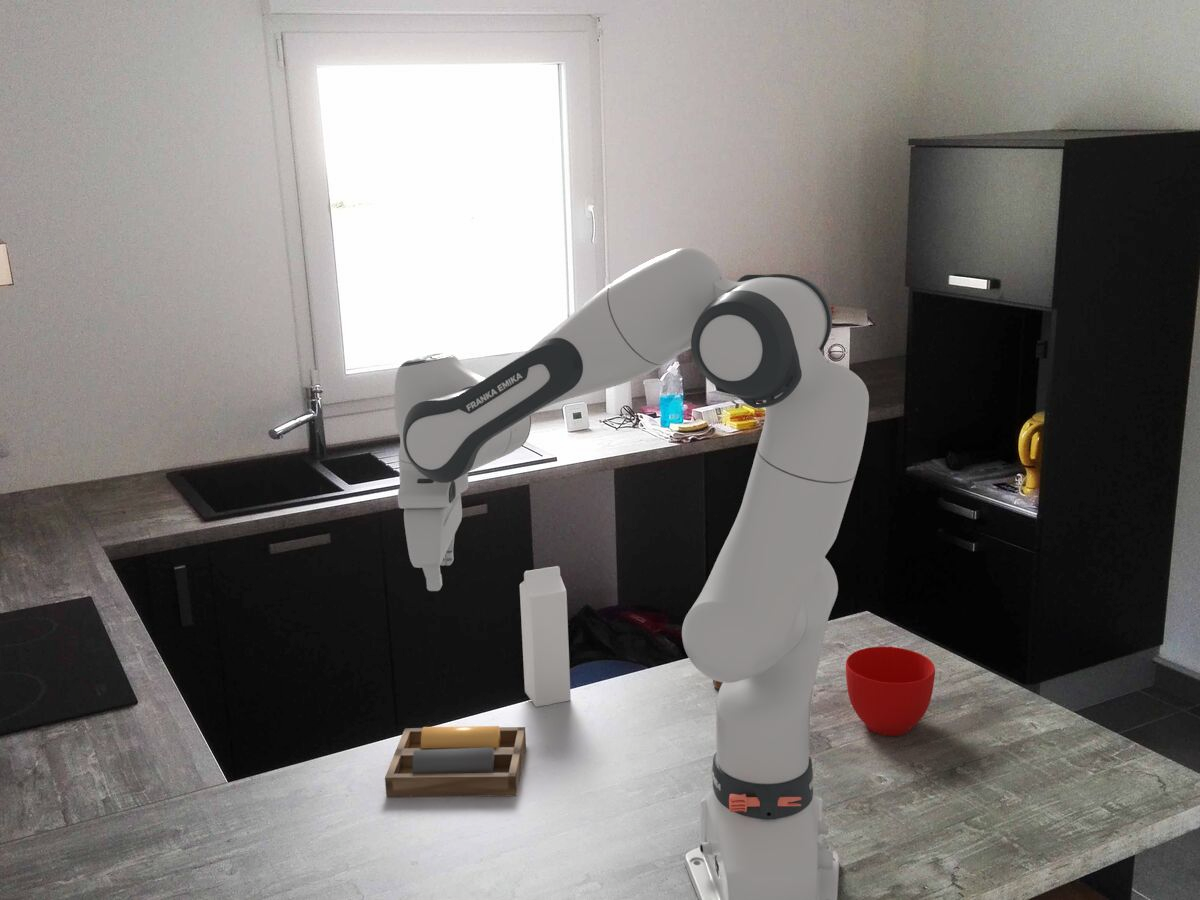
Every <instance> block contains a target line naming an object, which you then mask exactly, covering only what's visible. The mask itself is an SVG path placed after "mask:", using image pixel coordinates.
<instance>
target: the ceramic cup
mask: <svg viewBox="0 0 1200 900" xmlns="http://www.w3.org/2000/svg"><path fill="white" fill-rule="evenodd" d="M935 676H936V668H935V665H934V663H933V662H932V660H931V659H929V658H928V657H927V656H925V655H923V654H921V653H920V652H916V651H913V650H910V649H907V648H903V647H894V646H891V645H889V646H872V647H866V648H862V649H859V650H855V651H854V652H852V653H851V654H850V655H849V656H848V657H847V659H846V661H845V678H846V679H845V681H846V688H847V694H848V699H849V702H850V705H851V707H852V708H853V710H854V713H855V714H856V715H857V717H858V718H859V719H860V721H861V722H862V723H863V724H865V726H866V728H868V730H870V731H871V732H873V733H876V734H879V735H883V736H891V737H892V736H902V735H905V734H907V733H908V732H910V731H911V729H912V728H914V726H916V725H917V724H918V723H919V722H920V721H921V720H922V718H923V717H924V715H925V714H926V712H927V710H928V708H929V706H930V704H931V703H930V702H931V700H932V695H933V691H934V683H935Z"/></svg>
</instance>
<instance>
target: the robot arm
mask: <svg viewBox="0 0 1200 900" xmlns="http://www.w3.org/2000/svg"><path fill="white" fill-rule="evenodd" d="M832 311H833V310H832V307H831V304H830V301H829V299H828V298H827V296H826V294H825V293H824V292H823V290H822V289H821V288H820V287H819V286H818V285H817V284H815V283H814V282H812V281H810V280H809V279H807V278H805V277H801V276H798V275H793V274H783V273H773V274H771V273H770V274H744V275H742V276H740V278H739V279H738V280H737V281H734V280H730V279H728V278H727V277H726V276H725V274H724V273H723V271H722V269H721V268H720V266H719V265H718V264H717V262H716V261H714V260H713V259H712V258H711V257H710V256H709V255H707V254H706V253H704V252H703V251H701V250H699V249H696V248H692V247H680V248H676V249H673V250H670V251H668V252H666V253H663V254H661V255H659V256H656V257H654V258H652V259H650V260H648V261H645V262H644V263H642V264H640V265H638V266H637V267H635V268H633V269H631V270H629V271H628V272H626V273H625V274H622V275H620V277H618V278H617V279H615V280H613V282H611V283H610V284H608V285H606V286H605V287H604V288H602V289H601V290H600V291H599V292H597V293H596V294H594V295H593V296H592V297H590V298H589V299H588V300H587V301H586V302H584V303H583V304H582V305H581V306H580V307H579V308H577V309H576V310H575V311H573V312H572V314H571V315H569V316H568V317H566V318H565V320H564V321H562V322H561V323H560V324H559V325H558V326H556V327H555V328H554V329H552V330H551V331H550V332H549V333H548V334H547V335H546V336H544V337H543V338H541V339H540V340H539V341H538V342H537V343H536V344H534V345H533V346H532V347H530V349H528V350H527V351H526V352H524V353H523V354H522V355H520V356H518V357H516V358H515V359H514V360H513V361H510V362H509V363H508V364H506V365H505V366H504V367H502V368H500V369H498V370H497V371H496V372H493V373H491V375H489V376H488V377H484V376H482V375H480V374H478V373H476V372H474V371H473V370H470V369H469V368H467V367H466V366H465V365H463V364H462V363H461V361H460V360H459V359H458V357H456V355H453V354H450V353H436V354H435V353H434V354H430V355H426V356H422V357H420V356H419V357H415V358H412V359H409V360H406V361H405V362H403V363H402V364H401V365H400V366H399V367H398V368H397V371H396V376H395V380H394V381H395V382H394V417H395V425H396V429H397V431H398V432H397V433H398V435H399V440H400V442H399V448H398V449H399V451H398V453H397V454H398V456H397V457H398V467H399V468H398V470H399V487H398V493H397V504H398V508H399V509H404V511H403V522H404V529H405V530H404V531H405V537H406V544H407V550H408V556H409V559H410V560H409V561H410V563H411V565H412V566H413V568H419V569H421V568H422V571H423V575H424V577H425V582H426V583H425V584H426V589H427V591H429V592H439V591H440V590H441V588H442V586H443V575H442V573H441V566H451V565H452V564H453V562H454V558H455V557H454V545H455V536H456V533H457V531H458V528H459V526H460V524H461V523H462V519H463V508H462V507H463V504H462V495H461V494H462V493H464V492H466V491H467V490H468V489H469V472H471V471H473V470H476V469H478V468H480V467H483V466H485V465H487V464H490V463H492V462H494V461H496V460H498V459H501V458H503V457H505V456H508V455H509V454H511V453H513V452H515V451H516V450H519V449H520V448H521V447H523V446H524V444H525V443H526V442H527V441H528V438H529V436H530V432H531V428H532V427H531V426H532V418H531V416H533V414H535V413H537V412H539V411H541V410H543V409H545V408H547V407H549V406H551V405H555V404H557V403H560V402H563V401H566V400H571V399H574V398H578V397H580V396H584V395H588V394H591V393H592V394H593V393H596V392H599V391H603V390H606V389H610V388H613V387H617V386H621V385H622V384H626V383H628V382H631V381H634V380H636V379H639V378H641V377H643V376H645V375H647V374H649V373H652V372H653V371H655V370H656V369H658V368H661V367H662V366H663V365H666V364H667V363H669V362H670V361H672V360H673V359H675V358H676V357H678V356H679V355H681V354H683V353H684V352H687V351H688V350H691V355H692V358H693V361H694V363H695V365H696V367H697V369H698V370H699V371H700V373H701V374H702V375H703V377H705V378H706V379H707V380H708V381H709V382H710V383H712V385H714V386H716V387H717V388H718V389H721V390H723V391H725V392H727V393H730V394H732V395H734V396H736V397H737V398H739V399H740V400H741V401H742V402H744V403H745V404H746V405H748V406H750V407H752V408H753V409H763V408H764V409H765V416H764V417H765V418H764V420H763V421H764V422H763V427H762V430H761V432H760V433H761V434H760V437H759V441H758V444H757V448H756V450H755V451H756V452H755V456H754V459H753V464H752V467H751V470H750V474H749V477H748V480H747V484H746V488H745V491H744V495H743V499H742V503H741V506H740V508H739V511H738V513H737V516H736V518H735V521H734V523H733V525H732V527H731V529H730V531H729V534H728V536H727V537H726V539H725V541H724V544H723V546H722V548H721V549H720V552H719V554H718V556H717V558H716V561H715V562H714V564H713V567H712V569H711V571H710V574H709V576H708V578H707V580H706V582H705V584H704V586H703V588H702V590H701V592H700V594H699V595H698V597H697V599H696V600H695V602H694V603H693V605H692V606H691V608H690V609H689V610H688V613H686V615H685V618H684V620H683V623H682V628H681V639H682V645H683V648H684V651H685V653H686V655H687V657H688V659H689V661H690V662H691V664H692V665H693V666H694V667H695V668H696V669H697V670H698V671H699V672H700V673H701V674H702V675H704V676H706V677H707V678H709V679H711V680H712V681H713V680H715V681H719V682H723V683H722V685H721V687H720V690H718V693H717V696H716V703H715V719H716V720H715V730H716V732H715V733H716V734H715V735H716V737H715V738H716V739H715V741H716V742H715V743H716V744H715V745H716V747H715V748H716V750H715V753H714V754H713V757H712V765H711V778H712V789H711V790H710V791H709V793H708V794H707V795H705V797H703V799H701V800H700V817H699V819H700V820H699V822H700V824H699V846H698V847H695V848H693V849H691V850H689V851H688V852H687V853H686V854H685V856H684V857H685V859H684V865H685V868H686V870H687V873H688V876H689V878H690V880H691V883H692V885H693V889H694V891H695V893H696V896H697V899H698V900H838V894H839V892H838V891H839V877H840V876H839V875H840V858H839V854H838V853H837V852H836V851H835V850H833V849H830V848H829V846H828V844H826V843H825V844H824V843H822V835H828V832H829V822H826V821H823V799H822V798H821V797H820V796H818V795H817V794H815V792H814V780H815V778H814V769H813V761H812V759H811V757H810V733H811V732H810V731H811V730H810V729H811V706H812V699H813V692H814V688H815V687H814V686H815V683H816V682H815V681H816V677H817V672H818V667H819V664H820V660H821V654H822V650H823V644H824V639H825V634H826V631H827V630H826V629H827V624H828V620H829V617H830V615H831V612H832V609H833V607H834V605H835V602H836V599H837V597H838V592H839V583H838V579H837V578H838V576H837V574H836V572H835V569H834V568H833V566H832V564H831V563H830V561H829V560H828V559H827V558H826V555H827V554H828V552H829V551H830V549H831V548H832V546H833V545H834V543H835V541H836V539H837V537H838V534H839V530H840V528H841V524H842V521H843V518H844V514H845V512H846V508H847V504H848V502H849V498H850V494H851V491H852V489H853V485H854V481H855V479H856V475H857V471H858V467H859V464H860V461H861V458H862V457H861V456H862V452H863V447H864V444H865V443H864V442H865V437H866V433H867V425H868V417H869V407H870V405H869V403H870V396H869V395H870V394H869V391H868V388H867V385H866V384H865V382H864V381H863V380H862V378H860V377H859V375H857V374H856V373H855V372H853V370H851V369H849V368H848V367H845V366H844V365H841V364H838V363H835V362H831V360H829V359H828V358H826V357H825V356H824V354H823V353H822V351H823V349H824V348H825V346H826V344H827V342H828V340H829V338H830V335H831V332H832V327H833V312H832ZM757 402H760V403H757Z"/></svg>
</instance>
